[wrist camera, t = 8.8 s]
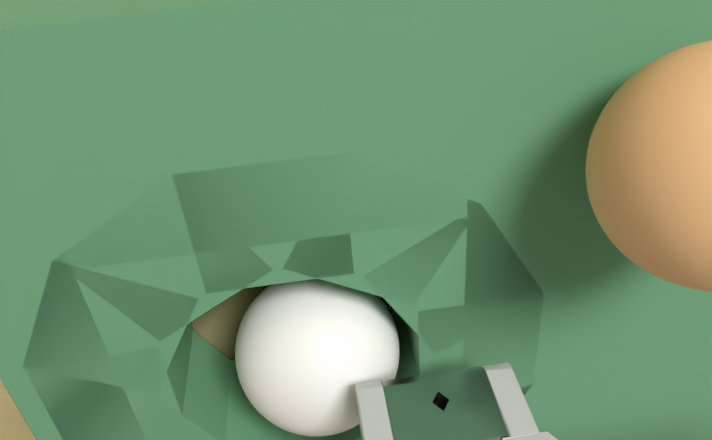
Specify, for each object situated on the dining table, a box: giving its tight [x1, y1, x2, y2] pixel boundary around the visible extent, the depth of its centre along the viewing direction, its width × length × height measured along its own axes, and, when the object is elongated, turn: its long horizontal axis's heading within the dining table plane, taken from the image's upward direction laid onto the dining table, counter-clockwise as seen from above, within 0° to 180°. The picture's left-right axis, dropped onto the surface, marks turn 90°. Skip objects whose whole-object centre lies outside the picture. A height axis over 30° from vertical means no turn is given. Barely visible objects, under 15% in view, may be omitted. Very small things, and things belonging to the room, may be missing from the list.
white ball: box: [235, 279, 399, 437], centre depth 14 cm, size 4×4×4 cm
